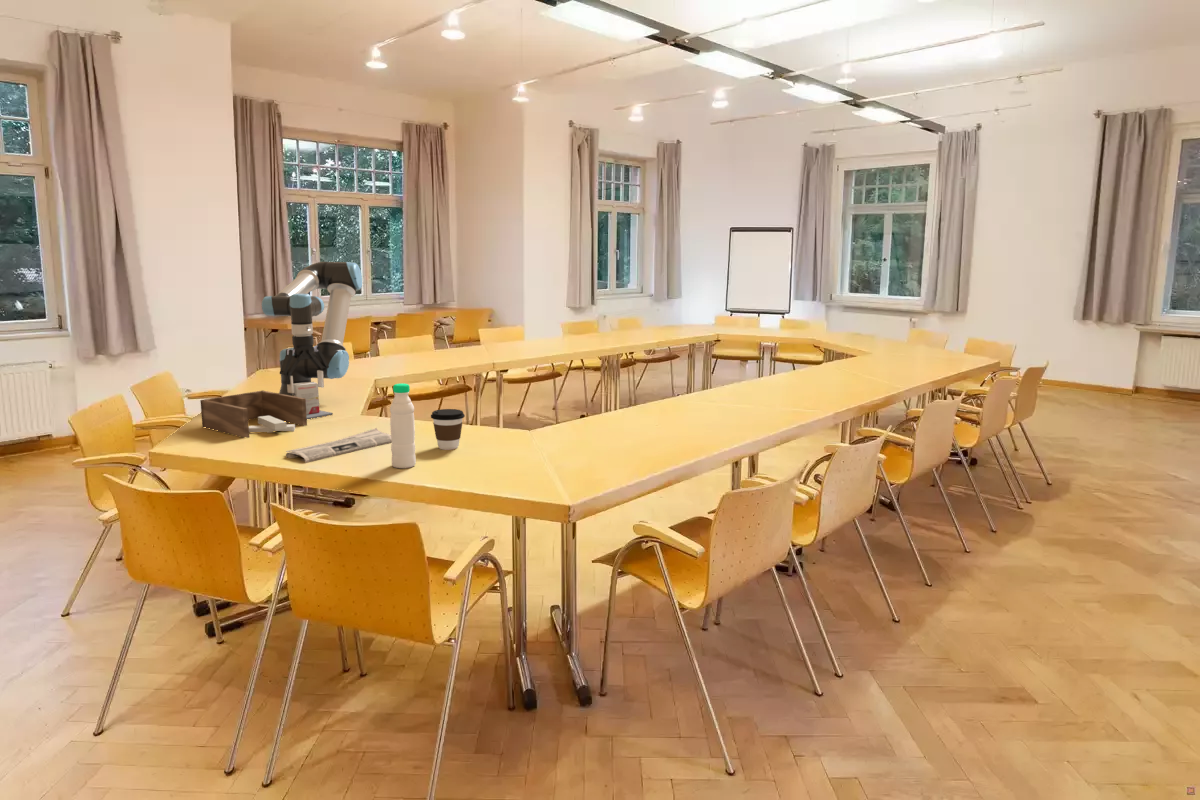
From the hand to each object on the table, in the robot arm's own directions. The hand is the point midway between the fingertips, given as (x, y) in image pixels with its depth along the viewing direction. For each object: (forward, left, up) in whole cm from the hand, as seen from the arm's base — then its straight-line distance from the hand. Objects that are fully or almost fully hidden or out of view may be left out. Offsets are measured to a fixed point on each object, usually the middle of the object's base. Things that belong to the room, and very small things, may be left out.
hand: (306, 389), depth 305 cm
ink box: (+1, 0, -9) cm, 9 cm away
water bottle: (+27, +83, -10) cm, 88 cm away
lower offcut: (+24, +13, -11) cm, 29 cm away
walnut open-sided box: (+23, +2, -10) cm, 26 cm away
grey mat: (0, 0, -10) cm, 10 cm away
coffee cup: (+3, +78, -10) cm, 79 cm away
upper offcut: (+24, +13, -8) cm, 28 cm away
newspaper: (+25, +52, -11) cm, 59 cm away
